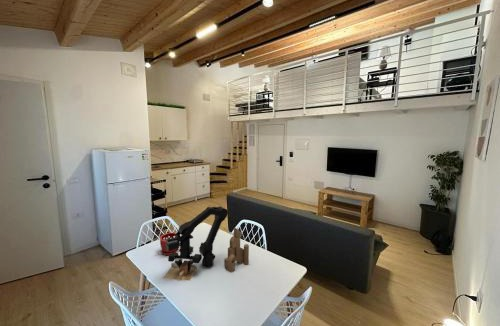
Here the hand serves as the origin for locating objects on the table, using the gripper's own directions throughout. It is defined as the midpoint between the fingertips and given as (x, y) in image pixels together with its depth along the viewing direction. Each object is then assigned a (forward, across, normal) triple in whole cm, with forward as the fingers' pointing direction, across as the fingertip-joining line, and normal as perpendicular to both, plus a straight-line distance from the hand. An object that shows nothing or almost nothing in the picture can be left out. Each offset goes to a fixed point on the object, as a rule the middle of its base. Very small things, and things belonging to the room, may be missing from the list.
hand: (185, 271), depth 133 cm
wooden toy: (+2, -29, -12) cm, 32 cm away
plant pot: (+2, +20, -24) cm, 31 cm away
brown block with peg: (+1, 0, +2) cm, 2 cm away
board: (+2, +3, 0) cm, 3 cm away
